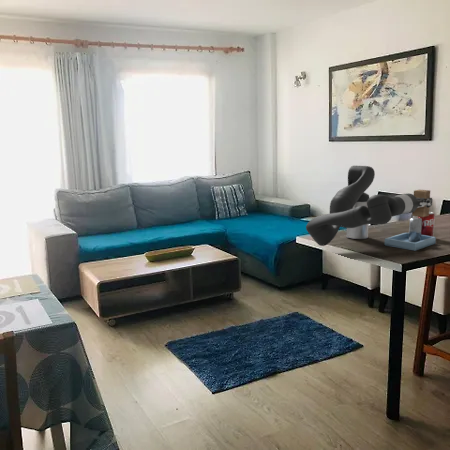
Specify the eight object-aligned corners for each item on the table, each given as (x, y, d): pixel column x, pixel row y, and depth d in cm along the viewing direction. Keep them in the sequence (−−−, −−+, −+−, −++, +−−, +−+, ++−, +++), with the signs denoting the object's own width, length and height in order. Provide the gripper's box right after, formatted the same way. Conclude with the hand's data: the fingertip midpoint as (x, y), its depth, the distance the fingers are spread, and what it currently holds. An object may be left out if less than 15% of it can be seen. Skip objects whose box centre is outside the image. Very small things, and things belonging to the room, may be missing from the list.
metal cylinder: (409, 242, 220) (410, 219, 218) (407, 239, 224) (409, 217, 223) (421, 242, 218) (422, 219, 217) (419, 240, 223) (421, 218, 221)
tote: (414, 250, 208) (415, 243, 207) (384, 245, 218) (384, 238, 218) (435, 243, 220) (435, 237, 219) (405, 238, 230) (405, 232, 229)
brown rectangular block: (423, 217, 196) (424, 191, 194) (412, 215, 199) (413, 190, 197) (428, 215, 199) (430, 190, 197) (417, 214, 202) (419, 189, 200)
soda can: (412, 237, 233) (414, 211, 231) (425, 236, 235) (426, 210, 233) (424, 240, 226) (425, 214, 224) (436, 239, 229) (438, 213, 226)
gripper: (385, 212, 194) (407, 207, 205) (420, 216, 184) (442, 211, 195) (386, 192, 193) (408, 188, 204) (421, 196, 182) (443, 191, 194)
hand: (424, 199), depth 199 cm, fingers closed on brown rectangular block, 4 cm apart
